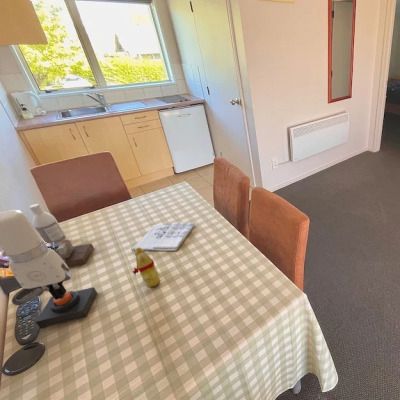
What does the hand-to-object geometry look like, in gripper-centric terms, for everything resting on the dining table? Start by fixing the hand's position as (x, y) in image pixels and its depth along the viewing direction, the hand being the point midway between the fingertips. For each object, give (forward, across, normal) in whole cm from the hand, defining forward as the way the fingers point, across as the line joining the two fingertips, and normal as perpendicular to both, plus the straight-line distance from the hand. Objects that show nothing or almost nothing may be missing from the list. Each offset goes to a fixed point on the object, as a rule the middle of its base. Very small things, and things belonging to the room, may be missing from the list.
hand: (61, 295), depth 84 cm
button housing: (+7, 0, 0) cm, 7 cm away
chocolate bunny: (+7, +22, +6) cm, 24 cm away
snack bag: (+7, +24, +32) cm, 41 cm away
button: (+2, 0, 0) cm, 2 cm away
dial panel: (+7, -10, +29) cm, 32 cm away
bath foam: (+7, -20, +43) cm, 48 cm away
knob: (+4, -10, +29) cm, 31 cm away
